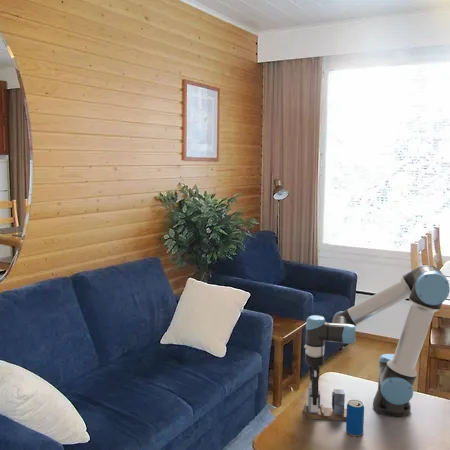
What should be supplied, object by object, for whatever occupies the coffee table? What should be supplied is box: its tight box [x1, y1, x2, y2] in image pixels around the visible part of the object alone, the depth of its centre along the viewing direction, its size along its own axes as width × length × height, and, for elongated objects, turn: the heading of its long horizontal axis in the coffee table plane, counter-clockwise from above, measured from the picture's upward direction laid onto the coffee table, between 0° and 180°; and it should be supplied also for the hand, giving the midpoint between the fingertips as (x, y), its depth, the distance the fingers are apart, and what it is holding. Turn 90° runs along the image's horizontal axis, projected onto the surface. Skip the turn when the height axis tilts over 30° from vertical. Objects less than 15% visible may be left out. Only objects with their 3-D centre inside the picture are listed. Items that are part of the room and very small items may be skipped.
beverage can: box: [345, 399, 365, 437], centre depth 196 cm, size 6×6×12 cm
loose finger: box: [307, 387, 321, 413], centre depth 210 cm, size 5×4×9 cm
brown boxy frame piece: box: [303, 388, 347, 422], centre depth 209 cm, size 18×7×10 cm, turn 84°
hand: (313, 403), depth 210 cm, fingers open, 13 cm apart
